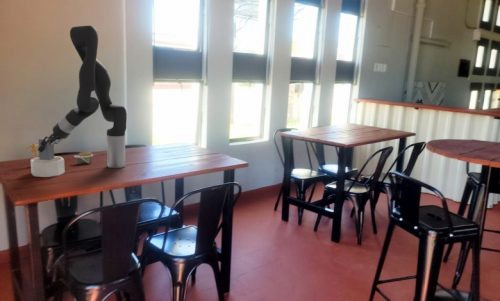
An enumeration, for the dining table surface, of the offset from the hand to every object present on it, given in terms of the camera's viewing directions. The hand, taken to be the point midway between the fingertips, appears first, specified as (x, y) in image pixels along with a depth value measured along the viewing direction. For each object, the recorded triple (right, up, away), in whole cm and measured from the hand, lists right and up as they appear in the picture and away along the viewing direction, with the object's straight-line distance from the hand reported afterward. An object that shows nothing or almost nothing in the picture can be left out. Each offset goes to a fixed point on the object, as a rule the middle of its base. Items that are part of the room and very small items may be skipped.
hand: (42, 149), depth 186 cm
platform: (+10, -8, +24) cm, 28 cm away
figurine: (-12, -9, +14) cm, 20 cm away
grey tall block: (+2, -4, +1) cm, 5 cm away
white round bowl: (+1, -11, +2) cm, 12 cm away
